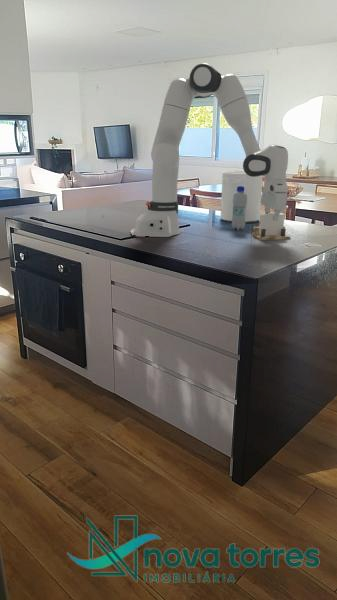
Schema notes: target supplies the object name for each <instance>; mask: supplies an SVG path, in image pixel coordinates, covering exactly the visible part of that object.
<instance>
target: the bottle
mask: <svg viewBox="0 0 337 600" xmlns="http://www.w3.org/2000/svg"><path fill="white" fill-rule="evenodd" d="M246 204H247V193H245V192H244V187H243V186H238V187H237V192H235V193H234V196H233V218H232V223H231V228H232V229H233V230H234V231H235V230H237V231H239V230H240V231H242V230H244V229H246V228H245V227H246V223H245V214H246Z"/></svg>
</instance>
